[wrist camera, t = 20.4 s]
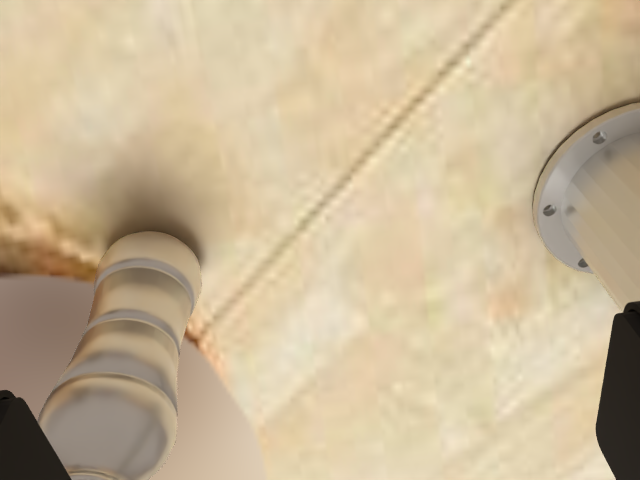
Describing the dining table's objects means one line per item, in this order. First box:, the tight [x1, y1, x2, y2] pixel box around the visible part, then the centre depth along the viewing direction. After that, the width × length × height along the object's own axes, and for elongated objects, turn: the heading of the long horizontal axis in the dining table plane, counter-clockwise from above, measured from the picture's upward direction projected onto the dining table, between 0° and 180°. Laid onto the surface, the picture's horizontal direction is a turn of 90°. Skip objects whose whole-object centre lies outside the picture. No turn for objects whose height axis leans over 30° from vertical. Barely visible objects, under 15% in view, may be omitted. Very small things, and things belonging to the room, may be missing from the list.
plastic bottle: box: [37, 231, 202, 480], centre depth 34 cm, size 6×7×20 cm
